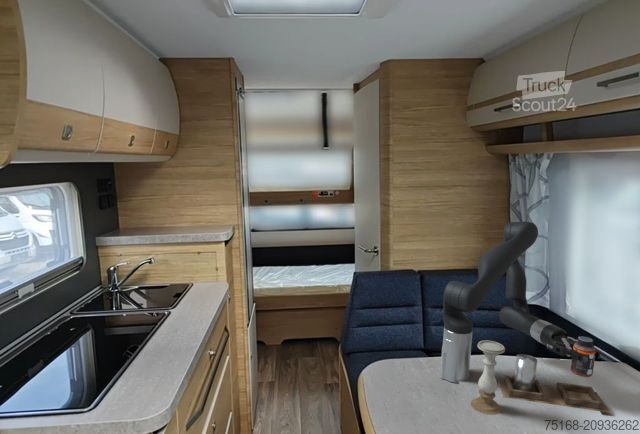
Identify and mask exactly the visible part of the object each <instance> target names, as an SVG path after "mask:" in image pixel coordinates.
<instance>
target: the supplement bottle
mask: <svg viewBox="0 0 640 434" xmlns="http://www.w3.org/2000/svg"><path fill="white" fill-rule="evenodd" d="M577 340H578V342H577V343H575V344H574V346H573V349H574V350H576V351H577V352H579V353H581V354H583V361H578V360H577V359H575V358H573V357H571V363H570V371H571V372H572V373H573V374H574V375H577V376H579V377H583V378H591V377H592V376H593V373H594V368H595V360H596V358H595V352H596V347H595V346H594V339H592V338H590V337H589V336H588V337H587V336H578V337H577Z"/></svg>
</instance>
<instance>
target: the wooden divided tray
mask: <svg viewBox="0 0 640 434" xmlns="http://www.w3.org/2000/svg"><path fill="white" fill-rule="evenodd" d="M514 377H515V375H514V376H513V375H506V374H504V378H497V383H498V384H499V385H498V386H499V387H500V391H501V394H502V397H503V398H507V399H514V400H521V401H526V402H533V403H540V404H547V405H555V406H561V407H567V408H575V409H581V410H582V409H583V410H588V411H589V410H590V411H596V412H600V414H601V415H602V416H603V415H604V416H612V415H611V414H612V412H611V410H610V409H609V408H608V406H607V404H606V403H605V402H604V401H603V399H602V398H601V397H600V395H599V393H598V392H597V391H595V390H594V389H593V387H592V386H590V385H589V386H588V385H581V384H573V383H565V382H558V381H557V383H556V386H554V385H548V384H541V383H540V382H539V380H538V379H536V378H535V387H534V392H529V391H522V390H515V389H513V387H514Z"/></svg>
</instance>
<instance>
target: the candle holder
mask: <svg viewBox="0 0 640 434" xmlns="http://www.w3.org/2000/svg"><path fill="white" fill-rule="evenodd" d="M476 346H477V348H478V349H479V350H480V351H482V353H483V354H484V358H483V360H482V362H483V363H484V366H483V372H482V374H481V376H480V377H479V379H478V382H477V384H478V388H479V389H478V394H479V396H478V397H476V398H473V399H472V400H471V401H470V407H471V408H472V409H474V411H477V412H479V413H480V414H484V415H487V416H488V415H489V416H494V415H495V416H496V415H498V414H501V413H502V407H501V406H500V405H499V404H498V402H497V401H496V400H494V399H495V398H496V393H495V392H496V391H497V389H498V387H499V385H498V380H497V379H496V375H495V366H497V361H496V357H498V356H499V355H501V354H503V353H505V352H506V347H505V346H504V345H503V344H501V343H500V342H497V341H494V340H481V341H478V343H477V345H476Z"/></svg>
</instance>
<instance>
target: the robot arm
mask: <svg viewBox="0 0 640 434" xmlns="http://www.w3.org/2000/svg"><path fill="white" fill-rule="evenodd" d="M502 233H503V235H502V238H503V239H502V240H503V242H502V243H500V244H497V245H495V246H493V247H492V248H490V249H489V250H488V251H486V252H485V253H484V254H483V255H482V256H481V258H480V259H479V261H478V263H477V271H478V272H477V273H478V279H477V281H476V282H475V283H473V284H469V283H464V282H461V281H457V280H451V281H449V282H448V283H447V284H446V286H445V288H444V291H443V297H442V298H443V299H442V300H443V301H442V302H443V303H442V306H443V307H442V309H443V310H442V311H443V312H442V319H443V323H444V324H443V325H444V327H443V337H442V338H443V339H442V344H441V345H442V346H441V358H440V361H441V362H440V379H442V380H446V381H448V382H450V383H454V384H455V383H456V384H459V383H460V382H463V381H467V380H468V379H469V377H470V365H471V356H472V355H471V353H472V342H473V341H472V340H473V331H474V330H473V328H474V324H473V322H472V320H471V319H469V318H468V317H467V316H466V315H465V314H464V313H467V314H471V313H474V312H476V310H477V309H478V308H479V307H480V306H481V304H482V303H483V301H484V299H486V297H487V296H488V294H489V292H490V291H491V290H492V288H493V287H494V286H495V284H496V283H497V282H498V281H499V280H500V279H501V278H502V277H503V276H504V275H505V273H506V279H505V280H506V281H505V297H506V299H507V300H510V301H512V303H513V306H504V307H502V308H501V309H500V311H499V319H500V321H501V322H502V323H503V324H504V325H505V326H506V327H509V328H511V329H514V330H516V331H519V332H522V333H524V334H526V335H527V336H529V337H531V338H533V339H534V340H536V341H537V342H538V343H540V344H542V345H544V346H546V349H547V350H549V351H551V352H553V353H555V354H557V355H559V356H560V357H565V356H567V357H571V358H572V357H573V358H575V359H577V360H578V361H583V354H581V353H579V352H577V351H576V350H574V349H573V346H574V344H575V343H577V342H578V339H575V338H574V337H570V336H569V335H568V334H567V332H566V330H564V329H563V328H561V327H559V326H557V325H555V324H553V323H550V322H549V321H546V320H543V319H541V318H539V317H537V316H535V315H533V314H532V315H531V313H530V309H529V305H528V304H529V303H528V300H527V297H526V296H527V276H526V273H525V271H524V269H523V267H522V265H521V263H520V261H519V259H518V258H520V257H521V255H523V254H524V253H525V252H526V251H527V250H528V249H530V248H531V247H532V246H533V245H534V244H535V243H536V241H537V239H538V236H539V228H538V227H537V225H536V224H535V223H534V222H531V221H512V222H511V221H510V222H507V223H506V224H505V226H504V228H503V232H502ZM600 358H601V351H599V350H596V352H595V360H596V359H597V360H599V359H600Z"/></svg>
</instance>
